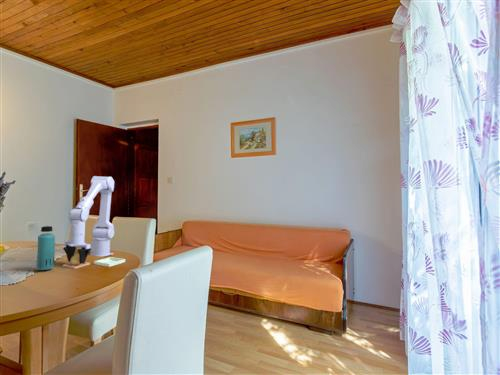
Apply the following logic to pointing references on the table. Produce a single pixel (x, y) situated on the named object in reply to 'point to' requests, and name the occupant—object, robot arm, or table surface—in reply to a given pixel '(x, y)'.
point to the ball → (75, 260)
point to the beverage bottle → (45, 249)
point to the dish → (76, 265)
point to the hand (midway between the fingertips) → (76, 262)
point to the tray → (109, 261)
